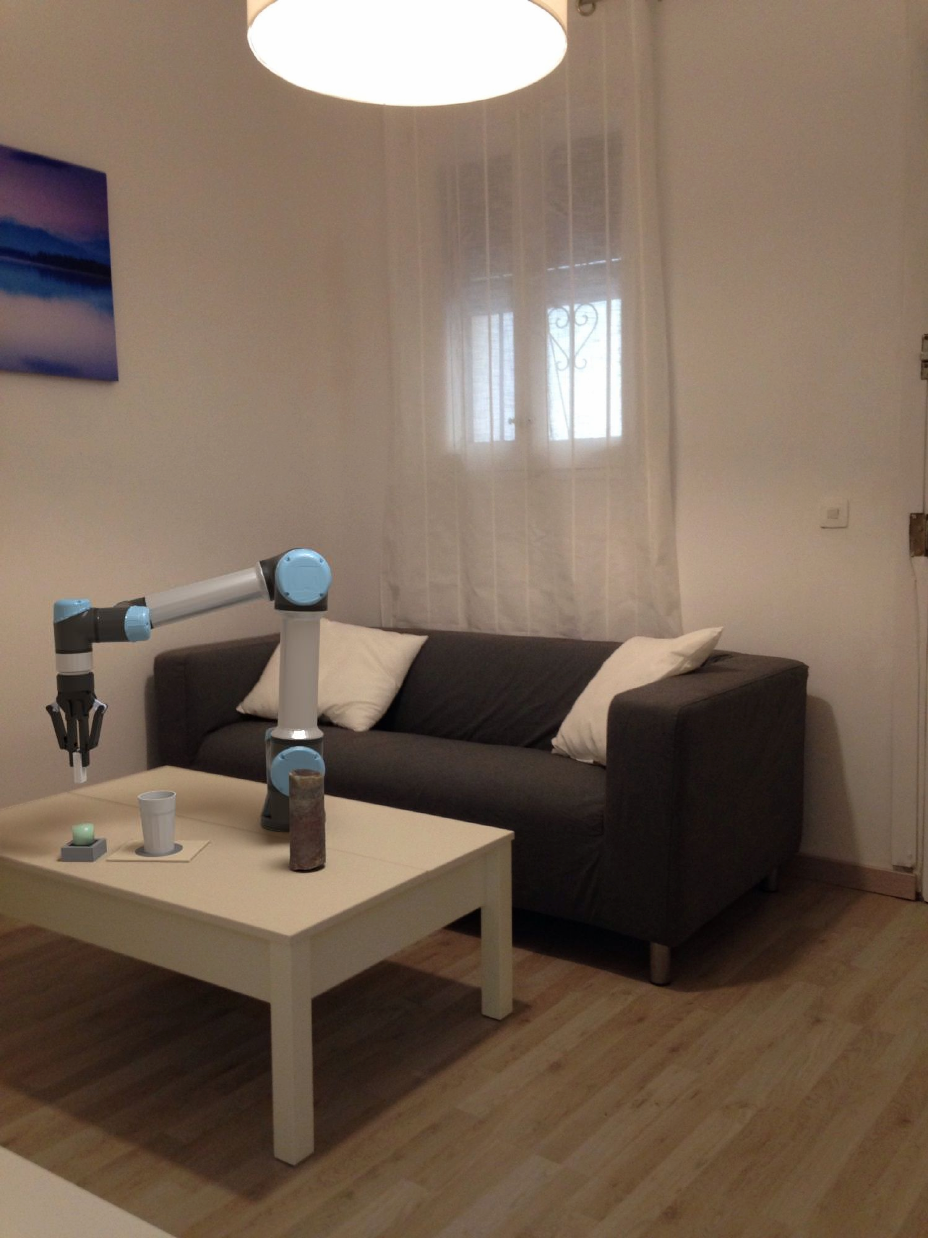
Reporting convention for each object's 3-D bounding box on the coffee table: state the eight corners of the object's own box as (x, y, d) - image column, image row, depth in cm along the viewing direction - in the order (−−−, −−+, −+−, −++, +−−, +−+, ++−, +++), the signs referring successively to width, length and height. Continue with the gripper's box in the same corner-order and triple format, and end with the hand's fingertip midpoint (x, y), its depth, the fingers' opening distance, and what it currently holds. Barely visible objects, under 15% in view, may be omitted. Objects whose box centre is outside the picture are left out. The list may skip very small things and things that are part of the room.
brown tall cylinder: (310, 859, 235) (307, 765, 233) (334, 865, 231) (331, 770, 229) (282, 868, 229) (279, 772, 227) (306, 875, 225) (303, 777, 223)
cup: (167, 856, 237) (165, 800, 236) (133, 854, 239) (130, 799, 238) (184, 844, 245) (182, 791, 244) (151, 843, 247) (148, 789, 245)
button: (97, 839, 241) (97, 823, 241) (89, 845, 237) (88, 829, 236) (78, 839, 241) (77, 823, 241) (69, 845, 237) (68, 829, 237)
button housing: (106, 851, 243) (106, 838, 242) (93, 862, 236) (92, 848, 235) (75, 851, 243) (75, 838, 243) (61, 861, 236) (60, 847, 236)
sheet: (209, 842, 248) (209, 840, 248) (188, 862, 234) (188, 860, 234) (131, 841, 250) (131, 839, 250) (105, 861, 236) (105, 859, 236)
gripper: (112, 669, 239) (117, 777, 241) (53, 669, 240) (58, 777, 242) (97, 674, 231) (103, 786, 234) (36, 674, 232) (42, 786, 235)
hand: (80, 781), depth 238 cm, fingers closed
